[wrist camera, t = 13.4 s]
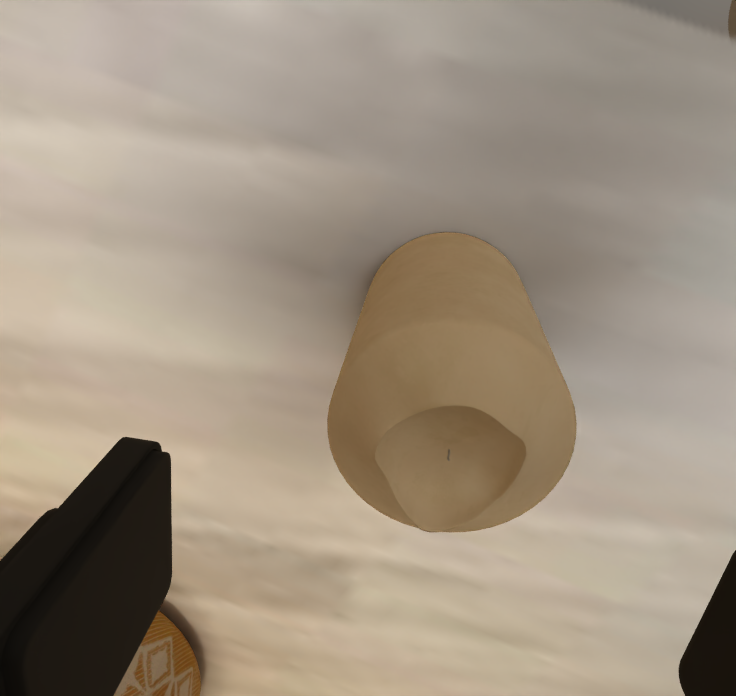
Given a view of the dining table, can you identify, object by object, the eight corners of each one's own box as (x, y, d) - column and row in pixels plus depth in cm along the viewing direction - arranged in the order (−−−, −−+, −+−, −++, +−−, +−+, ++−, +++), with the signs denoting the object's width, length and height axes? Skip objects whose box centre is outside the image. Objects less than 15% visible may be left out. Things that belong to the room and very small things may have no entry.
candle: (484, 396, 22) (516, 610, 13) (347, 345, 22) (282, 527, 13) (552, 264, 20) (648, 411, 11) (400, 205, 20) (367, 305, 11)
